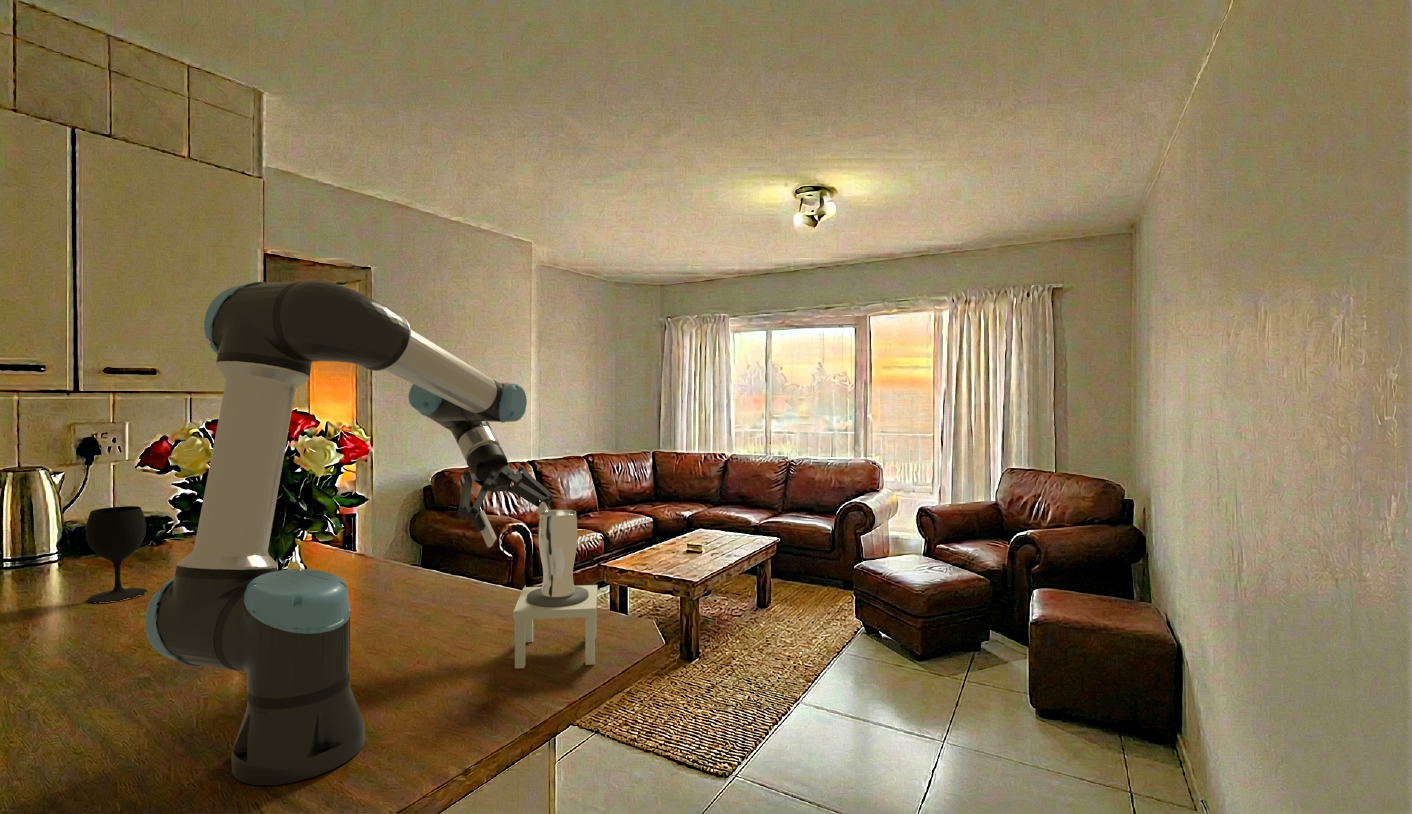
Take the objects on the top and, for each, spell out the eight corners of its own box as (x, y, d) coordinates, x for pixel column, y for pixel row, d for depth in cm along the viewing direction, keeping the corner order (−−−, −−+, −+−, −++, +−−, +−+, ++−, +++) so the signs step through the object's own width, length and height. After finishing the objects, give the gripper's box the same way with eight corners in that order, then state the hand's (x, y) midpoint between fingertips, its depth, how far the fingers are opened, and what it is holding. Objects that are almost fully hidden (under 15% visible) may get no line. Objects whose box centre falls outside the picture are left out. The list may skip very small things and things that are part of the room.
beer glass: (568, 601, 121) (568, 516, 120) (531, 598, 122) (531, 515, 122) (583, 589, 128) (583, 510, 127) (548, 587, 129) (548, 508, 129)
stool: (513, 668, 117) (513, 608, 117) (523, 638, 131) (523, 584, 131) (595, 664, 119) (595, 604, 119) (597, 635, 133) (597, 581, 133)
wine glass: (155, 594, 157) (153, 508, 157) (97, 606, 149) (94, 515, 148) (137, 586, 163) (135, 503, 162) (80, 598, 154) (78, 510, 154)
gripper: (528, 461, 152) (568, 538, 143) (418, 470, 134) (456, 560, 124) (542, 438, 149) (584, 516, 139) (431, 445, 130) (471, 535, 121)
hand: (524, 537), depth 132 cm, fingers open, 13 cm apart
